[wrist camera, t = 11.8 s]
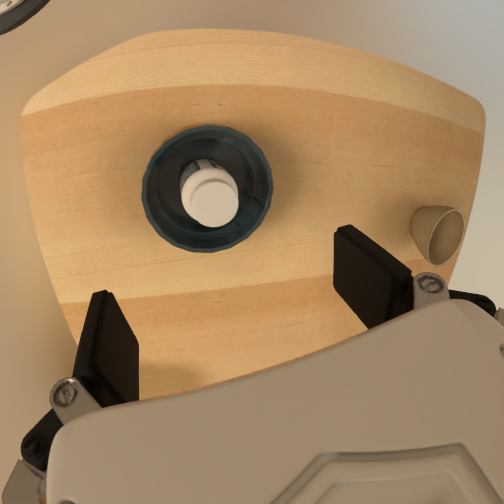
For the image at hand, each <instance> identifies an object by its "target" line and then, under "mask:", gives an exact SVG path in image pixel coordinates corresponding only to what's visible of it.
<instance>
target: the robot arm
mask: <svg viewBox="0 0 504 504" xmlns="http://www.w3.org/2000/svg"><path fill="white" fill-rule="evenodd" d="M23 1H24V0H0V15H2V14H4V13H7V12H8V11H10V10H12V9H14V8H15V7H16V6H18V5H19V4H21V3H22V2H23ZM411 272H412V271H411V270H410V269H409V268H407V267H406V266H405V265H404V264H402V263H401V262H400V261H399V260H397V259H396V258H395V257H394V256H392V255H391V254H390V253H389V252H387V251H386V250H385V249H383V248H382V247H381V246H379V245H378V244H377V243H375V242H374V241H373V240H371V239H370V238H369V237H367V236H366V235H365V234H363V233H362V232H361V231H359V230H358V229H357V228H355V227H354V226H353V225H351V224H349V225H345V226H342V227H338V228H337V231H336V232H335V233H334V271H333V285H334V288H335V290H336V291H337V293H338V294H339V295H340V296H341V297H342V298H343V300H344V301H345V302H346V303H347V304H348V306H349V307H350V308H351V309H352V310H353V311H354V313H355V314H356V315H357V316H358V317H359V319H360V320H361V321H362V322H363V323H364V325H365V326H366V327H367V328H368V329H369V330H367V331H364V332H362V333H360V334H357V335H355V336H353V337H350V338H348V339H345V340H343V341H340V342H338V343H335V344H333V345H330V346H328V347H325V348H323V349H320V350H317V351H315V352H312V353H309V354H307V355H304V356H301V357H298V358H295V359H293V360H290V361H287V362H284V363H281V364H278V365H275V366H272V367H269V368H266V369H262V370H259V371H256V372H253V373H249V374H246V375H243V376H239V377H236V378H232V379H229V380H225V381H222V382H218V383H214V384H210V385H206V386H202V387H198V388H194V389H190V390H186V391H182V392H177V393H172V394H168V395H163V396H159V397H154V398H149V399H144V400H139V344H138V341H137V339H136V337H135V335H134V333H133V331H132V330H131V328H130V326H129V324H128V322H127V320H126V318H125V317H124V315H123V313H122V311H121V309H120V307H119V305H118V303H117V301H116V299H115V297H114V295H113V293H112V292H109V293H108V291H107V290H103V291H99V292H95V293H93V294H92V297H91V301H90V304H89V308H88V311H87V315H86V319H85V323H84V327H83V330H82V333H81V337H80V342H79V346H78V351H77V355H76V360H75V365H74V370H73V375H72V377H66V378H63V379H61V380H60V381H58V382H57V383H56V384H55V385H54V386H53V388H52V390H51V393H50V403H51V406H52V409H51V410H50V411H49V412H48V413H47V414H46V415H45V416H44V417H43V418H42V419H41V420H40V421H39V422H38V423H37V424H36V425H35V426H34V427H33V428H32V429H31V430H30V431H29V433H28V434H27V435H26V436H25V437H24V438H23V441H22V443H21V454H22V457H23V460H22V461H21V460H19V459H18V461H17V463H16V466H15V467H14V469H13V471H12V473H11V476H10V478H9V480H8V482H7V484H6V486H5V488H4V490H3V494H2V502H3V504H504V309H502V308H499V309H498V310H496V307H495V304H494V303H493V302H492V301H491V300H490V299H489V298H488V297H486V296H483V295H479V294H473V293H467V292H461V291H455V290H449V289H448V286H447V283H446V281H445V280H444V279H443V278H442V277H440V276H439V275H437V274H434V273H430V272H424V273H420V274H418V275H416V276H415V278H414V277H412V276H411Z"/></svg>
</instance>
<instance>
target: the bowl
mask: <svg viewBox="0 0 504 504" xmlns="http://www.w3.org/2000/svg"><path fill="white" fill-rule="evenodd" d="M200 159H209V160H213V161H215V162H217V163H218V164H219V165H221V166H222V167H223V168H224V169H225V170H226V171H227V172H228V173H229V174H230V175H231V176H232V178H233V179H234V181H235V183H236V185H237V189H238V209H237V212H236V214H235V216H234V217H233V218H232V220H230V221H229V222H228V223H226V224H225V225H222V226H219V227H208V226H205V225H203V224H201V223H199V222H198V221H197V220H195V219H194V218H192V217H191V216H190V215H189V214H188V213H187V212H186V210H185V208H184V206H183V203H182V199H181V192H180V176H181V174H182V172H183V170H184V169H185V167H186V166H187V165H189V164H190V163H192V162H193V161H196V160H200ZM272 193H273V180H272V172H271V168H270V165H269V163H268V161H267V159H266V157H265V155H264V153H263V151H262V150H261V149H260V148H259V147H258V146H257V145H256V144H255V143H254V142H253V141H252V140H251V139H250V138H249V137H248V136H246V135H244V134H242V133H240V132H238V131H236V130H234V129H231V128H229V127H225V126H219V125H210V124H199V125H194V126H190V127H185V128H182V129H181V130H179V131H177V132H176V133H174V134H172V135H170V136H169V137H167V138H166V139H165V140H164V141H163V142H162V144H161V145H160V146H159V147H158V148H157V149H156V150H155V152H154V153H153V155H152V157H151V159H150V161H149V163H148V166H147V168H146V171H145V173H144V176H143V179H142V196H141V199H142V203H143V207H144V210H145V213H146V217H147V219H148V221H149V222H150V224H151V225H152V226H153V228H154V229H155V231H156V232H157V233H158V234H159V235H160V236H161V237H162V238H164V239H165V240H166V241H168V242H169V243H170V244H172V245H173V246H175V247H178V248H181V249H184V250H187V251H190V252H200V253H213V252H217V251H221V250H225V249H229V248H231V247H233V246H235V245H237V244H238V243H240V242H242V241H244V240H245V239H247V238H248V237H249V236H250V235H251V234H252V233H253V232H254V231H255V230H256V229H257V228H258V227H259V226H260V225H261V223H262V221H263V219H264V217H265V216H266V214H267V212H268V210H269V208H270V204H271V199H272Z"/></svg>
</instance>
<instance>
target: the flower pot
mask: <svg viewBox="0 0 504 504" xmlns="http://www.w3.org/2000/svg"><path fill="white" fill-rule="evenodd" d="M410 230H411V234H412V237H413V239H414V241H415V243H416V245H417V247H418V249H419V251H420V252H421V254H422V255H423V256H424V258H425V259H426V260H427V261H428V262H429V263H430V264H431V265H432V266H435V267H438V266H442V265H444V264H445V263H447V262H448V261H449V260H450V259H451V258H452V257H453V256H454V254H455V253H456V251H457V250H458V248H459V246H460V244H461V242H462V239H463V235H464V231H465V219H464V216H463V214H462V212H461V211H459V210H457V209H455V208H451V207H447V206H428V207H424V208H421V209H419V210H417V211H416V212H415V214H414V215H413V217H412V219H411V223H410Z"/></svg>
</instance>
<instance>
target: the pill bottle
mask: <svg viewBox="0 0 504 504" xmlns="http://www.w3.org/2000/svg"><path fill="white" fill-rule="evenodd" d="M180 192H181V199H182V203H183V206H184V208H185V210H186V212H187V213H188V214H189V215H190V216H191V217H192V218H194V219H195V220H197V221H198V222H199V223H201V224H203V225H205V226H208V227H219V226H222V225H225V224H226V223H228V222H229V221H230V220H232V218H233V217H234V216H235V214H236V212H237V209H238V189H237V185H236V183H235V181H234V179H233V178H232V176H231V175H230V174H229V173H228V172H227V171H226V170H225V169H224V168H223V167H222V166H221V165H219V164H218V163H217V162H215V161H213V160H209V159H200V160H196V161H193V162H192V163H190V164H189V165H187V166H186V167H185V169H184V170H183V172H182V174H181V176H180Z"/></svg>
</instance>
